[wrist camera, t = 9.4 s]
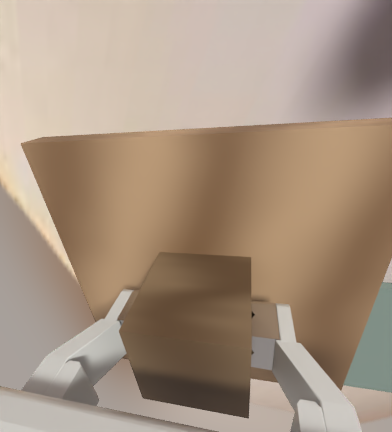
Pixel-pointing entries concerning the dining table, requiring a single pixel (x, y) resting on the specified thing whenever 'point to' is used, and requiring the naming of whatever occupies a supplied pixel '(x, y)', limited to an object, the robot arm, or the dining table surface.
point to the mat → (375, 347)
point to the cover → (224, 243)
